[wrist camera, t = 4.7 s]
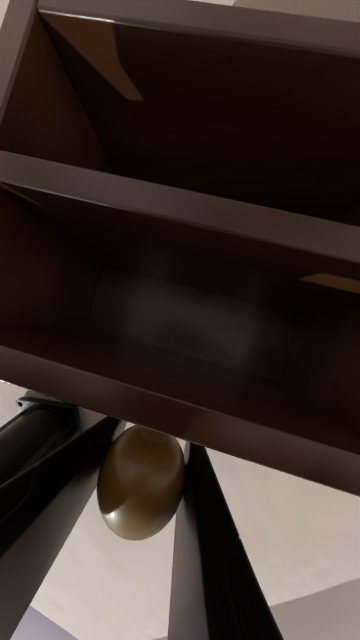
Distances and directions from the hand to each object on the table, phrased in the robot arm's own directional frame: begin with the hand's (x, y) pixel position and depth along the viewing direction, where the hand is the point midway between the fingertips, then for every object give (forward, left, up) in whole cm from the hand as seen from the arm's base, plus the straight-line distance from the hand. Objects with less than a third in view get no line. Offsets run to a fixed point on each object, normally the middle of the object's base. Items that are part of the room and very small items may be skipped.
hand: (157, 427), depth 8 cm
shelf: (+1, +4, -4) cm, 6 cm away
